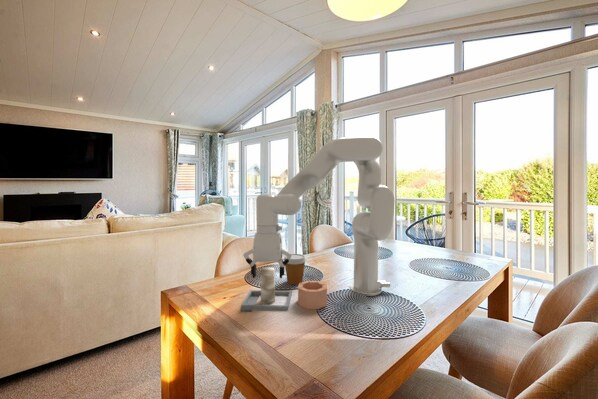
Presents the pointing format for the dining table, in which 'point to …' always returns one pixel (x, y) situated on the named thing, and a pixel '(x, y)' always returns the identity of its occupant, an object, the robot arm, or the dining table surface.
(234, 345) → the dining table surface
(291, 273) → the disposable coffee cup
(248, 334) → the dining table surface
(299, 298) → the terracotta octagonal pot
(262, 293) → the peg
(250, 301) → the tray
